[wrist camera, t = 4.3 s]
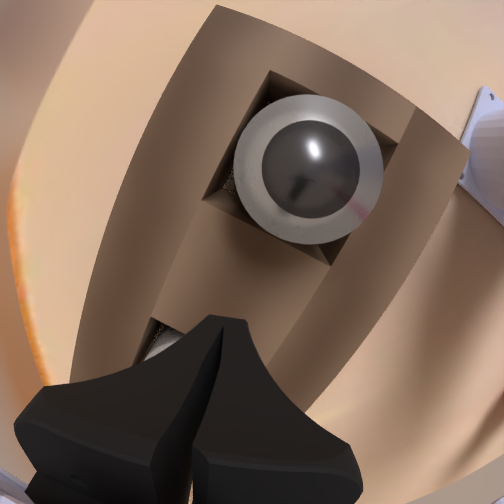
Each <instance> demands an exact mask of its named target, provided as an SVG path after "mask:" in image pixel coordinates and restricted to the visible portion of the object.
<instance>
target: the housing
mask: <svg viewBox="0 0 504 504" xmlns="http://www.w3.org/2000/svg"><path fill="white" fill-rule="evenodd" d="M307 94H308V95H319V96H324V97H328V98H331V99H334V100H336V101H338V102H340V103H342V104H344V105H346V106H348V107H349V108H351V109H352V110H353V111H355V112H356V113H357V114H358V115H359V116H360V117H361V118H362V119H363V120H364V121H365V122H366V123H367V125H368V126H369V127H370V129H371V130H372V132H373V134H374V136H375V138H376V140H377V142H378V144H379V147H380V150H381V154H382V159H383V182H382V188H381V192H380V195H379V198H378V200H377V202H376V204H375V206H374V208H373V210H372V211H371V213H370V214H369V216H368V217H367V218H366V219H365V220H364V222H363V223H361V224H360V225H359V226H358V227H357V228H356V229H355V230H353V231H352V232H350V233H349V234H347V235H345V236H343V237H341V238H339V239H336V240H334V241H331V242H326V243H322V244H299V243H293V242H290V241H286V240H283V239H281V238H279V237H276V236H274V235H273V234H271V233H269V232H268V231H266V230H265V229H264V228H262V227H261V226H260V225H259V224H258V223H257V222H256V221H255V220H254V219H253V218H252V217H251V216H250V214H249V213H248V212H247V210H246V209H245V207H244V205H243V203H242V202H241V200H240V197H239V196H237V195H235V194H233V193H231V192H229V191H227V190H225V189H223V188H222V187H223V185H224V183H225V181H226V179H227V177H228V175H229V173H230V171H231V169H232V168H233V166H234V156H235V151H236V147H237V144H238V141H239V139H240V137H241V134H242V132H243V131H244V129H245V128H246V126H247V124H248V123H249V122H250V121H251V120H252V118H253V117H254V116H255V115H256V114H258V113H259V112H260V111H261V110H262V109H264V107H265V105H266V103H267V102H268V100H269V99H270V100H272V101H274V102H276V101H278V100H280V99H283V98H286V97H290V96H295V95H307ZM470 154H471V151H470V150H469V149H467V148H466V147H465V146H464V145H463V144H462V143H461V142H460V141H459V140H457V139H456V138H455V137H454V136H453V135H452V134H451V133H449V132H448V131H447V130H446V129H445V128H443V127H442V126H441V125H440V124H439V123H437V122H436V121H435V120H434V119H432V118H431V117H430V116H429V115H427V114H426V113H425V112H423V111H422V110H421V109H419V108H418V107H417V106H415V105H414V104H413V103H411V102H410V101H409V100H407V99H406V98H404V97H403V96H402V95H400V94H399V93H397V92H396V91H394V90H393V89H391V88H390V87H388V86H387V85H385V84H384V83H382V82H381V81H379V80H378V79H376V78H375V77H373V76H371V75H370V74H368V73H367V72H365V71H363V70H362V69H360V68H358V67H357V66H355V65H353V64H352V63H350V62H348V61H346V60H344V59H343V58H341V57H339V56H337V55H335V54H334V53H332V52H330V51H328V50H326V49H324V48H322V47H320V46H318V45H316V44H314V43H312V42H310V41H308V40H306V39H304V38H302V37H300V36H297V35H295V34H293V33H291V32H289V31H286V30H284V29H282V28H279V27H277V26H275V25H272V24H270V23H267V22H265V21H262V20H260V19H257V18H254V17H252V16H249V15H246V14H243V13H241V12H238V11H235V10H232V9H229V8H226V7H223V6H219V5H216V6H215V7H214V9H213V10H212V12H211V13H210V15H209V16H208V18H207V19H206V21H205V22H204V24H203V25H202V27H201V28H200V30H199V32H198V33H197V35H196V36H195V38H194V40H193V41H192V43H191V44H190V46H189V48H188V49H187V51H186V53H185V54H184V56H183V58H182V60H181V61H180V63H179V65H178V66H177V68H176V70H175V72H174V74H173V75H172V77H171V79H170V81H169V83H168V85H167V86H166V88H165V90H164V92H163V94H162V96H161V98H160V100H159V102H158V104H157V106H156V108H155V110H154V112H153V114H152V116H151V118H150V120H149V122H148V124H147V126H146V128H145V131H144V133H143V135H142V137H141V139H140V142H139V144H138V146H137V148H136V151H135V153H134V155H133V158H132V160H131V162H130V165H129V167H128V170H127V172H126V175H125V177H124V180H123V182H122V185H121V187H120V190H119V193H118V195H117V198H116V201H115V203H114V206H113V209H112V212H111V215H110V217H109V220H108V223H107V226H106V229H105V232H104V235H103V238H102V242H101V245H100V248H99V251H98V255H97V258H96V261H95V265H94V268H93V272H92V276H91V279H90V283H89V287H88V291H87V295H86V299H85V303H84V307H83V311H82V316H81V320H80V325H79V330H78V335H77V340H76V345H75V350H74V356H73V362H72V368H71V374H70V381H69V383H76V382H81V381H86V380H91V379H95V378H99V377H102V376H106V375H109V374H113V373H115V372H118V371H121V370H123V369H126V368H129V367H131V366H134V365H136V364H139V363H141V362H143V361H144V360H145V358H146V356H147V355H148V353H149V351H150V349H151V348H152V346H153V344H154V343H155V341H153V339H154V336H155V334H156V332H157V329H158V327H159V324H160V322H162V323H164V324H166V325H168V326H170V327H172V328H174V329H176V330H178V331H180V332H182V333H184V334H186V333H188V332H189V331H190V330H191V329H193V328H194V327H195V326H196V325H197V324H198V323H200V322H201V321H202V320H203V319H204V318H205V317H206V316H208V315H209V314H211V315H218V316H224V317H231V318H238V319H245V320H246V321H247V322H248V327H249V331H250V334H251V337H252V340H253V343H254V345H255V347H256V349H257V352H258V354H259V356H260V358H261V360H262V362H263V363H264V365H265V367H266V368H267V370H268V372H269V373H270V375H271V376H272V378H273V379H274V381H275V382H276V383H277V385H278V386H279V387H280V389H281V390H282V391H283V392H284V393H285V394H286V396H287V397H288V398H289V399H290V400H291V401H292V402H293V403H294V404H295V405H296V406H297V407H298V408H299V409H300V410H301V411H302V412H303V413H305V412H306V411H307V410H308V408H309V407H310V406H311V405H312V404H313V403H314V402H315V400H316V399H317V398H318V397H319V396H320V395H321V394H322V392H323V391H324V390H325V389H326V388H327V386H328V385H329V384H330V383H331V382H332V380H333V379H334V378H335V377H336V376H337V374H338V373H339V372H340V371H341V369H342V368H343V367H344V366H345V364H346V363H347V362H348V361H349V359H350V358H351V357H352V355H353V354H354V353H355V351H356V350H357V349H358V347H359V346H360V345H361V343H362V342H363V341H364V339H365V338H366V337H367V335H368V334H369V333H370V331H371V330H372V328H373V327H374V326H375V324H376V323H377V321H378V320H379V318H380V317H381V316H382V314H383V313H384V311H385V310H386V308H387V307H388V305H389V304H390V302H391V301H392V299H393V298H394V296H395V295H396V293H397V292H398V290H399V289H400V287H401V285H402V284H403V282H404V281H405V279H406V277H407V276H408V274H409V273H410V271H411V269H412V268H413V266H414V264H415V263H416V261H417V259H418V258H419V256H420V254H421V252H422V251H423V249H424V247H425V245H426V244H427V242H428V240H429V238H430V237H431V235H432V233H433V231H434V229H435V227H436V225H437V224H438V222H439V220H440V218H441V216H442V214H443V212H444V210H445V208H446V206H447V204H448V202H449V200H450V198H451V196H452V194H453V192H454V190H455V188H456V185H457V183H458V181H459V179H460V177H461V175H462V172H463V170H464V168H465V166H466V163H467V161H468V159H469V156H470Z"/></svg>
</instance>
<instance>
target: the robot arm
mask: <svg viewBox="0 0 504 504" xmlns="http://www.w3.org/2000/svg"><path fill="white" fill-rule="evenodd" d="M489 95H490V96H491V99H490V96H489ZM460 142H461V143H462V144H463V145H464V146H465V147H466V148H467V149H469V150H470V151H471V154H470V156H469V159H468V161H467V163H466V166H465V168H464V170H463V172H462V175H461V178H460V179H459V181H458V184H459V185H460V186H461V187H462V188H463V189H465V190H466V191H467V192H468V193H469V194H470V195H471V196H472V197H473V198H474V199H476V200H477V201H478V202H479V203H480V204H481V205H482V206H483V207H484V208H485V209H486V210H487V211H488V212H489V213H490V214H491V215H492V216H493V217H494V218H495V219H496V220H497V221H498V222H499V223H500V224H501V225H502V226H503V227H504V103H503V102H502V101H501V100H500V99H499V98H498V97H497V96H496V94H495V93H494V92H493V91H492V90H491V89H490V88H489V87H487V86H482V87H481V88H480V91H479V94H478V96H477V99H476V102H475V105H474V108H473V110H472V113H471V116H470V118H469V121H468V124H467V126H466V129H465V131H464V134H463V136H462V138H461V141H460ZM14 431H15V435H16V437H17V439H18V442H19V444H20V445H21V447H22V449H23V450H24V452H25V454H26V455H27V457H28V458H29V460H30V462H31V463H32V465H33V466H34V468H35V469H36V471H37V472H36V474H35V475H34V477H33V478H32V480H31V482H30V483H29V485H28V484H26V483H24V482H23V481H21V480H20V479H18V478H16V477H15V476H13V475H12V474H10V473H9V472H7V471H5V470H4V469H2V468H1V467H0V504H188V500H189V495H190V490H191V484H192V480H193V502H192V504H354V503H355V502H356V501H357V500H358V499H359V497H360V495H361V494H362V492H363V481H362V477H361V473H360V469H359V466H358V464H357V461H356V459H355V456H354V454H353V452H352V449H351V447H350V445H349V444H348V443H346V442H344V441H343V440H341V439H339V438H338V437H336V436H335V435H333V434H332V433H330V432H328V431H327V430H325V429H324V428H322V427H321V426H319V425H318V424H317V423H316V422H314V421H313V420H312V419H311V418H309V417H308V416H307V415H306V414H304V413H303V412H302V411H301V410H300V409H299V408H298V407H297V406H296V405H295V404H294V403H293V402H292V401H291V400H290V399H289V398H288V397H287V396H286V394H285V393H284V392H283V391H282V390H281V389H280V387H279V386H278V385H277V383H276V382H275V381H274V379H273V378H272V376H271V375H270V373H269V372H268V370H267V368H266V367H265V365H264V363H263V362H262V360H261V358H260V356H259V354H258V352H257V349H256V347H255V345H254V343H253V340H252V337H251V334H250V331H249V327H248V322H247V321H246V320H245V319H238V318H231V317H224V316H218V315H211V314H209V315H208V316H206V317H205V318H204V319H203V320H202V321H201V322H200V323H198V324H197V325H196V326H195V327H194V328H193V329H191V330H190V331H189V332H188V333H186V334H185V335H184V336H183V337H181V338H180V339H179V340H177V341H176V342H175V343H173V344H172V345H170V346H169V347H167V348H166V349H164V350H163V351H161V352H160V353H158V354H156V355H155V356H153V357H151V358H149V359H147V360H145V361H143V362H141V363H139V364H136V365H134V366H131V367H129V368H126V369H123V370H121V371H118V372H115V373H113V374H109V375H106V376H102V377H99V378H95V379H91V380H86V381H81V382H76V383H69V384H61V385H53V386H44V387H43V388H42V389H41V390H40V391H39V392H38V393H37V394H36V396H35V397H34V398H33V399H32V400H31V402H30V403H29V404H28V405H27V406H26V408H25V409H24V410H23V411H22V413H21V414H20V415H19V416H18V417H17V419H16V420H15V422H14ZM492 504H504V496H502V497H501V498H499V499H497V500H496V501H494V502H493V503H492Z"/></svg>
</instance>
